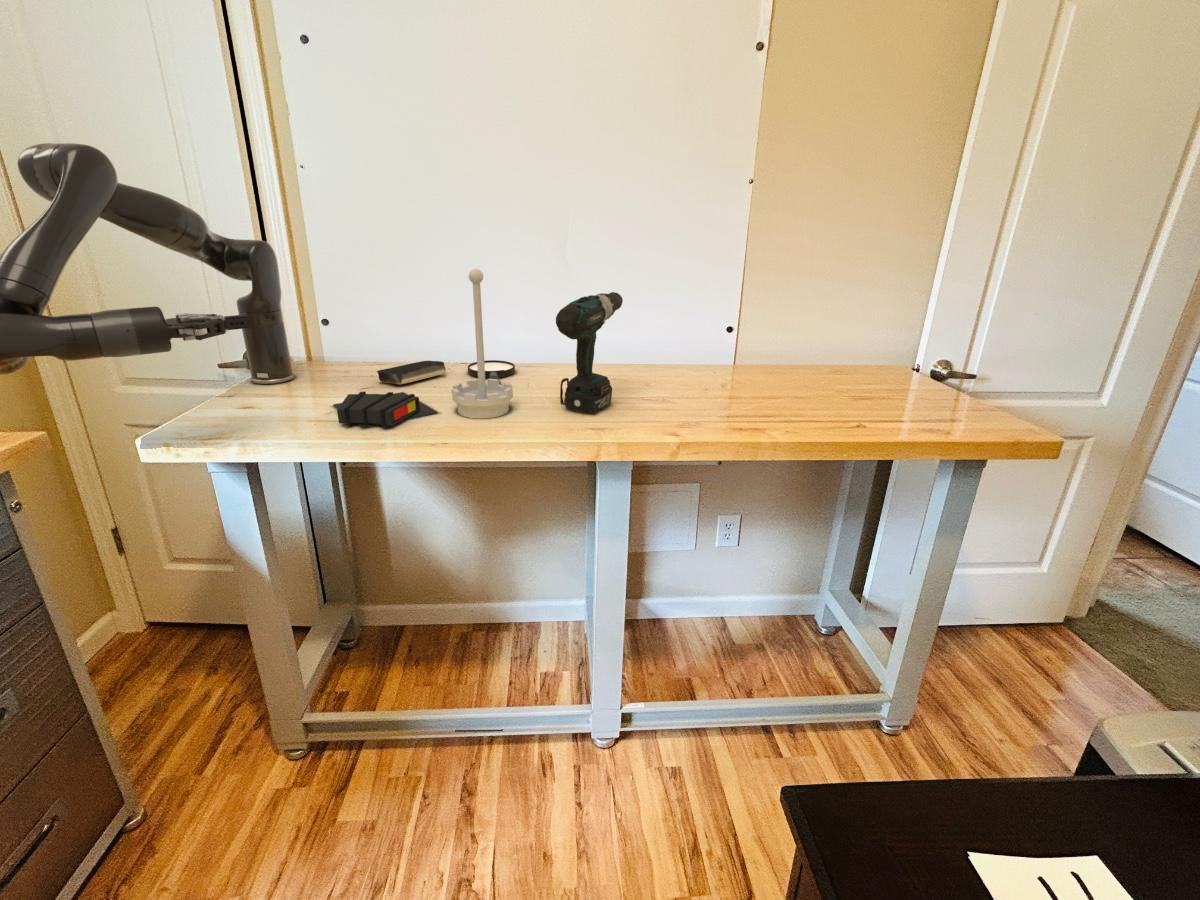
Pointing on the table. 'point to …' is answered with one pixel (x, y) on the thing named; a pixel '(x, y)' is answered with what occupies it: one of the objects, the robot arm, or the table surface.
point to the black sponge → (411, 372)
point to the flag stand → (481, 374)
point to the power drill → (586, 350)
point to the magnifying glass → (493, 369)
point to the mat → (422, 412)
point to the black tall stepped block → (377, 408)
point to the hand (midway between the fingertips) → (249, 321)
